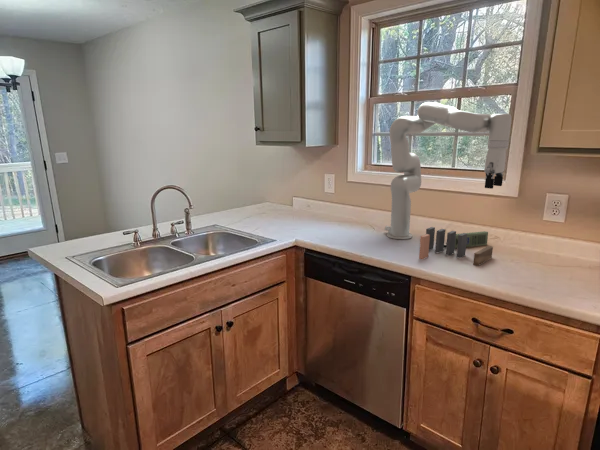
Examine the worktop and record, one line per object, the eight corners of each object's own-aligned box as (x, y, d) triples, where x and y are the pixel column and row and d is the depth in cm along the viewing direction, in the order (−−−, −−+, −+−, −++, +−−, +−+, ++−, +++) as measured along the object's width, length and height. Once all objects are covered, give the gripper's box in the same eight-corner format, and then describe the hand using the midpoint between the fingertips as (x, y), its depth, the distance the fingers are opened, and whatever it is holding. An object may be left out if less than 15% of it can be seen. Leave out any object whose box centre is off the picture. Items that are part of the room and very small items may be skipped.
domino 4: (445, 254, 173) (447, 232, 171) (450, 252, 176) (452, 230, 174) (449, 255, 172) (450, 233, 170) (454, 253, 175) (456, 231, 173)
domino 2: (424, 249, 180) (426, 228, 178) (430, 247, 183) (431, 226, 181) (428, 250, 179) (429, 229, 177) (433, 248, 182) (435, 227, 180)
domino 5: (456, 257, 170) (458, 235, 167) (461, 254, 173) (463, 232, 171) (460, 258, 168) (462, 235, 166) (465, 255, 172) (467, 233, 169)
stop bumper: (473, 264, 160) (474, 253, 159) (486, 256, 170) (488, 245, 168) (478, 265, 159) (479, 254, 158) (491, 258, 168) (492, 246, 167)
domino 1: (419, 258, 168) (420, 236, 166) (424, 255, 172) (426, 233, 169) (422, 259, 167) (424, 236, 165) (428, 256, 170) (429, 234, 168)
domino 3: (435, 252, 177) (436, 230, 174) (440, 249, 180) (442, 228, 178) (438, 253, 176) (440, 231, 173) (443, 250, 179) (445, 229, 176)
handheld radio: (488, 245, 186) (442, 250, 180) (483, 244, 190) (438, 248, 183) (489, 232, 185) (443, 236, 178) (484, 230, 188) (439, 234, 182)
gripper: (496, 144, 168) (491, 184, 172) (480, 145, 156) (475, 188, 160) (515, 144, 162) (510, 185, 167) (499, 146, 151) (495, 190, 155)
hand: (493, 186), depth 163 cm, fingers open, 9 cm apart
